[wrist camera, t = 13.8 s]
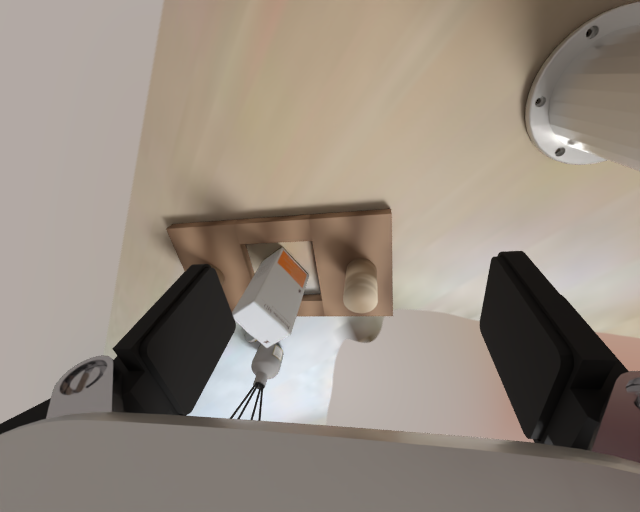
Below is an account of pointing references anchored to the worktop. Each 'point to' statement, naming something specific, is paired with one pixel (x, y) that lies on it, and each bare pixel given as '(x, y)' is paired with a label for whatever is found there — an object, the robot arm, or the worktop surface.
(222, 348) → the robot arm
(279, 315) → the skincare box
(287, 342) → the worktop surface
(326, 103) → the worktop surface
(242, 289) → the walnut rail
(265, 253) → the worktop surface
